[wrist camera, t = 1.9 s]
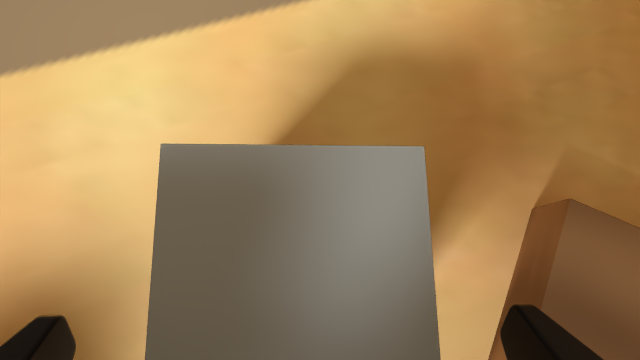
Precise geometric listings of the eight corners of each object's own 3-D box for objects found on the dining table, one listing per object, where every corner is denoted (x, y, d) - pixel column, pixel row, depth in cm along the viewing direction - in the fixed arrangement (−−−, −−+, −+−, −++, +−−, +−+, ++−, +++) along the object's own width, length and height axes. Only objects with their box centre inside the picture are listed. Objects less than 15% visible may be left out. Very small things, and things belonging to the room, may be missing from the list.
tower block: (365, 353, 17) (445, 430, 8) (213, 358, 16) (138, 445, 8) (360, 205, 18) (424, 145, 10) (219, 206, 17) (160, 143, 9)
